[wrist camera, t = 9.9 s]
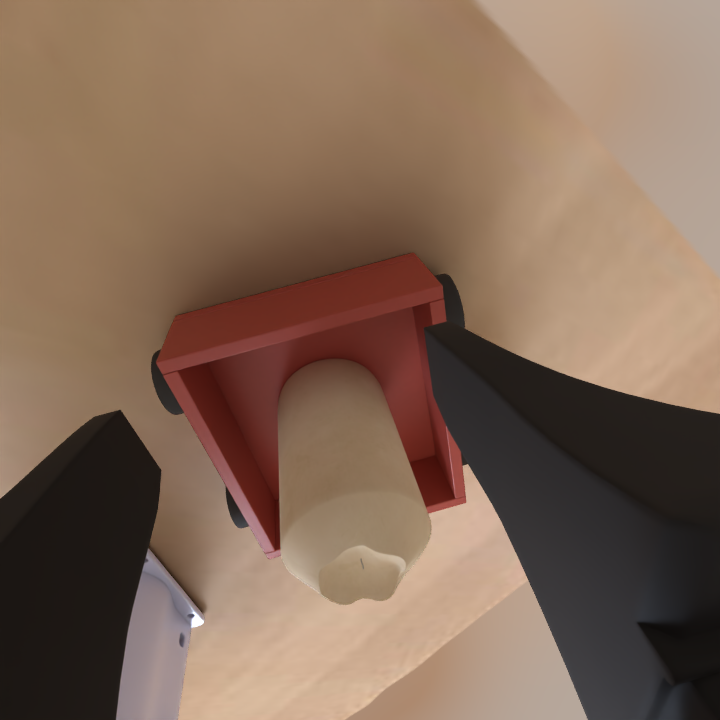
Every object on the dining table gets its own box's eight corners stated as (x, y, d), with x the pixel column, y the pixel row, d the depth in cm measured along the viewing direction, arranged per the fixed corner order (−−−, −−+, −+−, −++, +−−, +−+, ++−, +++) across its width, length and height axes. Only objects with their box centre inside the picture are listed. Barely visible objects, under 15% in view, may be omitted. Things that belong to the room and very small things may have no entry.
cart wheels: (464, 494, 30) (485, 537, 27) (274, 548, 29) (274, 598, 26) (438, 263, 20) (466, 292, 18) (159, 338, 20) (141, 380, 17)
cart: (442, 451, 27) (466, 503, 24) (268, 501, 27) (268, 560, 23) (413, 251, 20) (443, 284, 17) (174, 315, 20) (154, 362, 16)
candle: (350, 337, 21) (403, 502, 13) (399, 410, 24) (468, 583, 16) (255, 391, 22) (245, 582, 13) (313, 456, 25) (335, 645, 16)
